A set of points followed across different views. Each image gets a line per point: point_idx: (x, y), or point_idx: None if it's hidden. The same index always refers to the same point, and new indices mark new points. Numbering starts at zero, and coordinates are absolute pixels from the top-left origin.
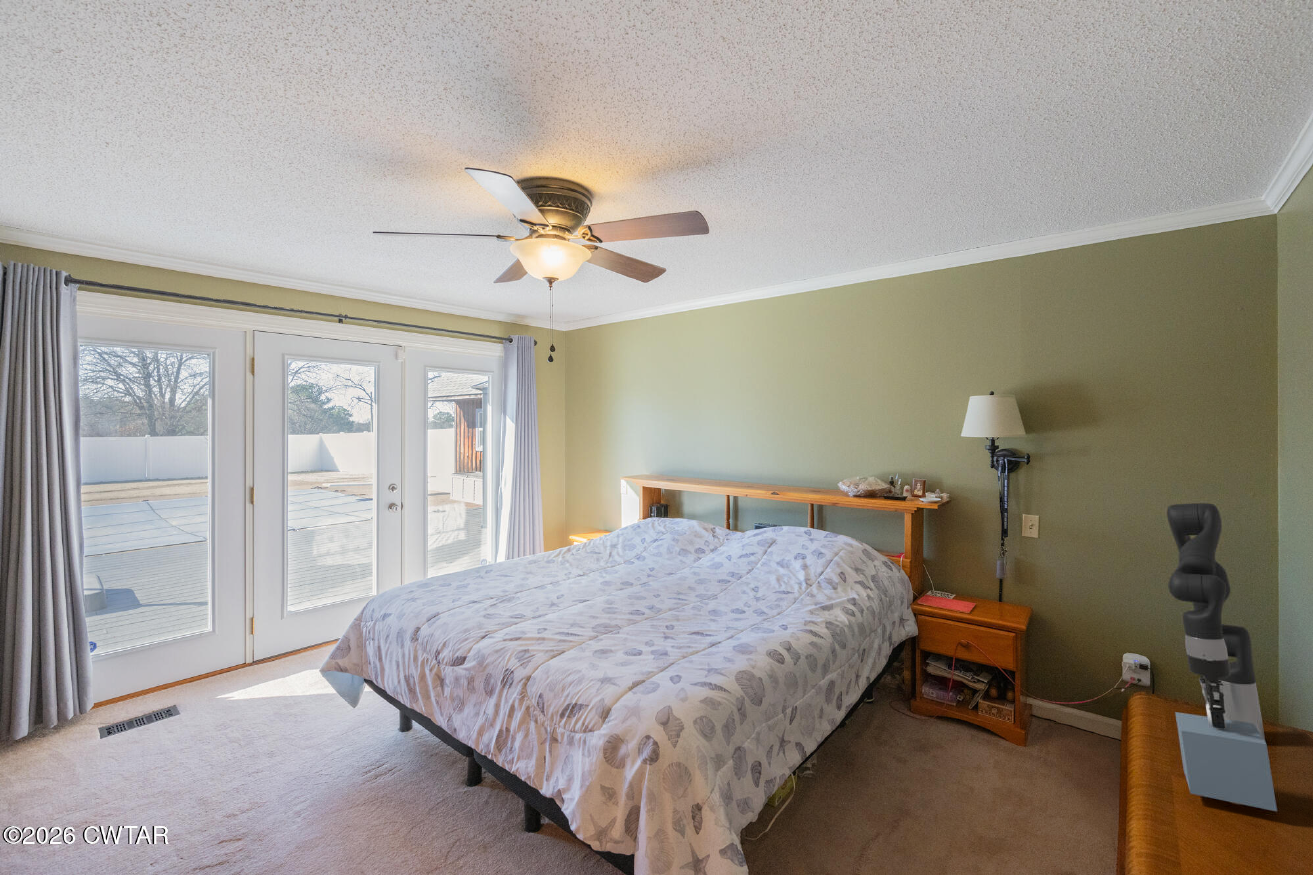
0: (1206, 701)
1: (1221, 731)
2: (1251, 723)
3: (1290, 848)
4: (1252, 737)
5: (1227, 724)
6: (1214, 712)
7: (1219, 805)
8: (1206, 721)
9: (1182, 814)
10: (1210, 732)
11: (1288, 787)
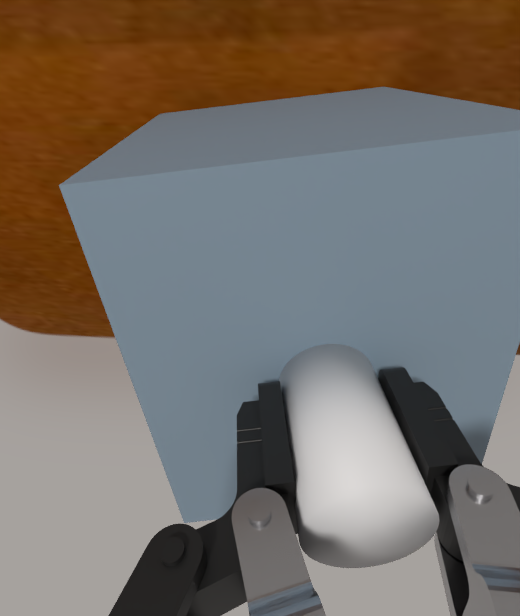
0: (482, 499)
1: (249, 396)
2: None
3: (83, 319)
4: None
5: None
6: (226, 517)
7: None
8: (410, 331)
9: (59, 77)
10: (179, 354)
11: None
